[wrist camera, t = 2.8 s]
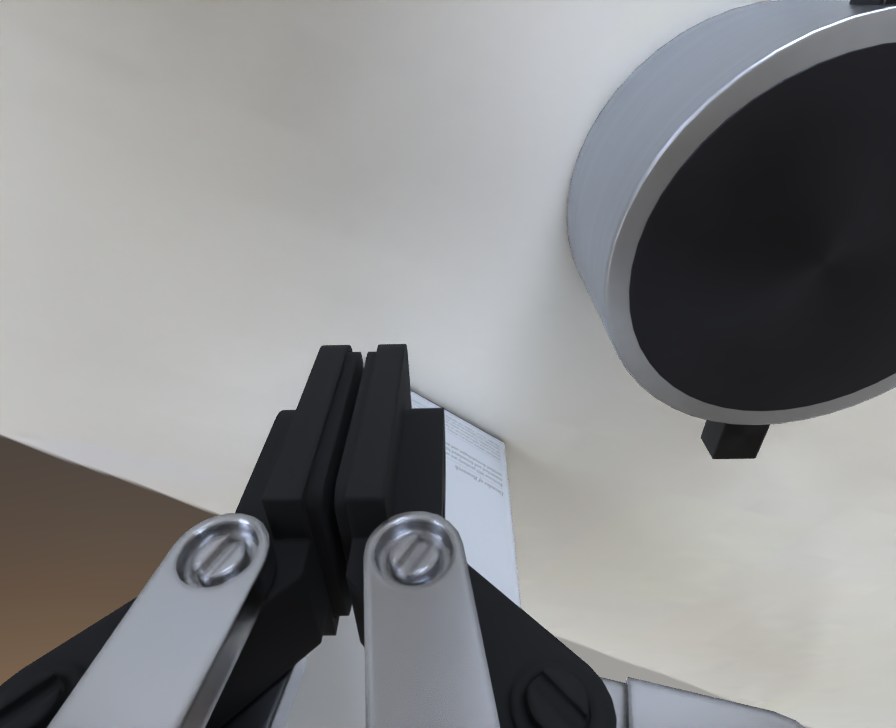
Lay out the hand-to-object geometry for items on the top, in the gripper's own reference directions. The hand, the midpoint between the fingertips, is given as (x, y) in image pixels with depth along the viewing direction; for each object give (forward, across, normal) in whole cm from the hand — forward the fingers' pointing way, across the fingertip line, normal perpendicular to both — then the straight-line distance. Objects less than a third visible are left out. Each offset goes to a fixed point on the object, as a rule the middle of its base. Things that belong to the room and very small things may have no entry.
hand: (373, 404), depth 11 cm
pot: (+11, -12, -1) cm, 16 cm away
